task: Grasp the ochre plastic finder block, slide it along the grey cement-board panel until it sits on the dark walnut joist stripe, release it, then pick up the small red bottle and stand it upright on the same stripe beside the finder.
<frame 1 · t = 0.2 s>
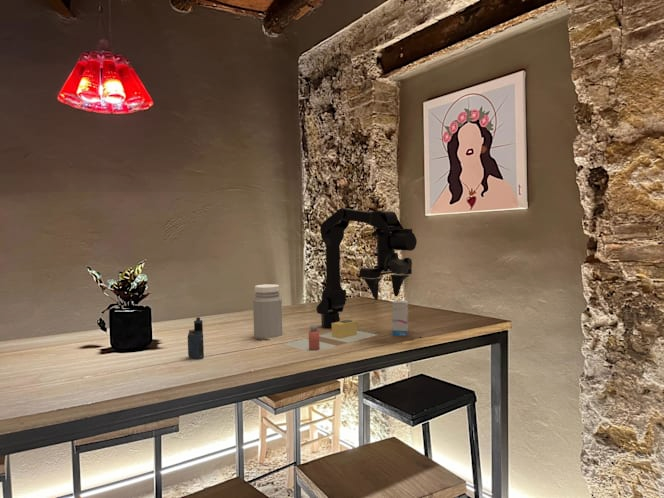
hand: (386, 297, 156), 14 cm above the table, fingers open, 9 cm apart
vaping device: (196, 358, 141), on the table
small red bottle: (314, 349, 144), point 1 cm above the table, touching subfloor panel
subfloor panel: (331, 342, 156), on the table
finder block: (344, 335, 162), point 1 cm above the table, touching subfloor panel
ink box: (400, 336, 164), on the table
jar: (268, 338, 166), on the table
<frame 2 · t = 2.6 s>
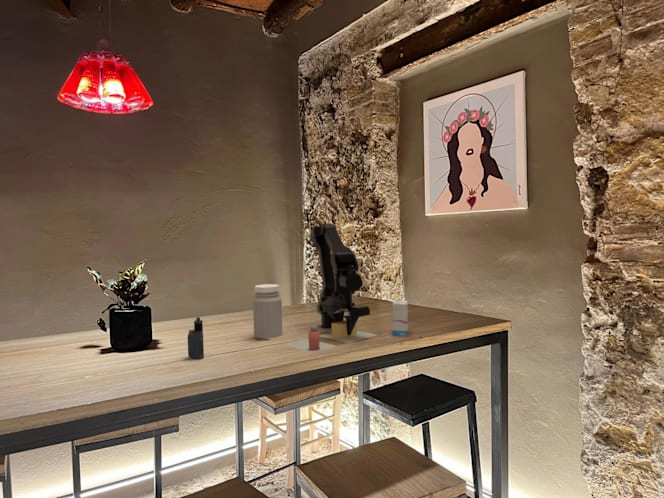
hand: (344, 334, 162), 1 cm above the table, fingers closed on finder block, 4 cm apart
finder block: (344, 335, 162), point 1 cm above the table, touching gripper, subfloor panel
everything else where it was.
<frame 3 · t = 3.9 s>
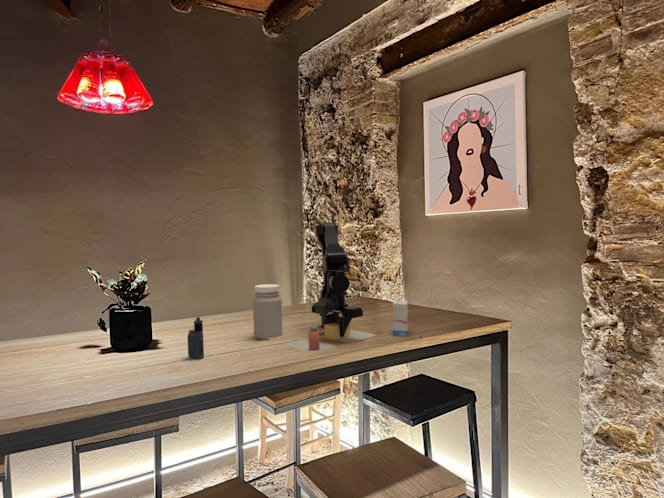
hand: (337, 336, 159), 1 cm above the table, fingers closed on finder block, 4 cm apart
finder block: (337, 337, 159), point 1 cm above the table, touching gripper
everything else where it was.
when the fingers open (1 cm above the table, at t = 5.4 s): finder block stays where it is, resting on subfloor panel.
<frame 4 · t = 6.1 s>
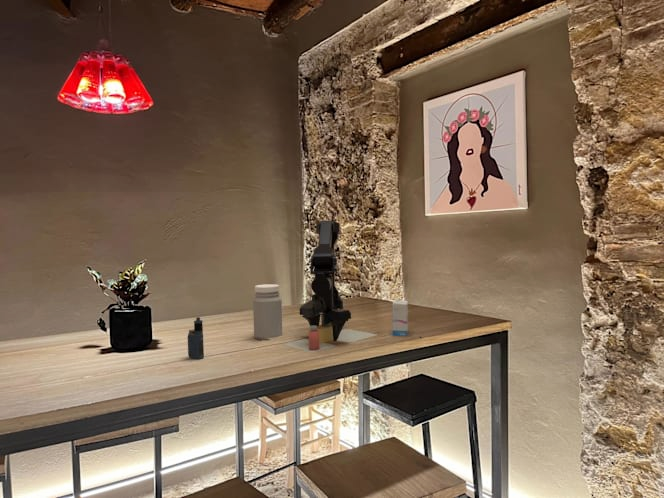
hand: (325, 339, 155), 1 cm above the table, fingers open, 9 cm apart
finder block: (325, 340, 155), point 1 cm above the table, touching subfloor panel
everything else where it was.
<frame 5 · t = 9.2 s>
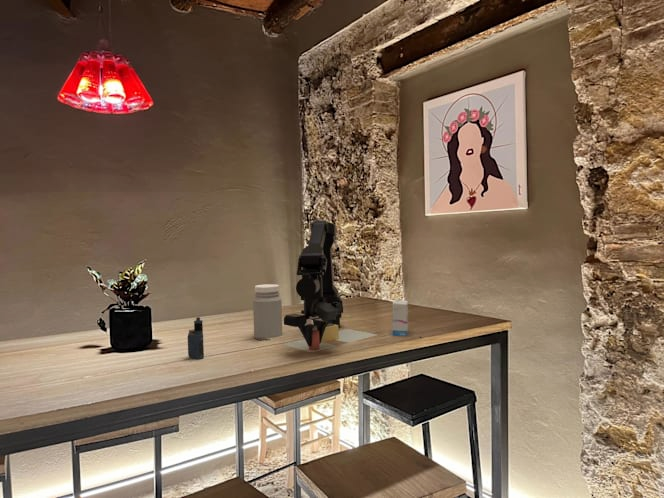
hand: (314, 345, 144), 2 cm above the table, fingers closed on small red bottle, 3 cm apart
small red bottle: (314, 349, 144), point 1 cm above the table, touching gripper, subfloor panel
everything else where it was.
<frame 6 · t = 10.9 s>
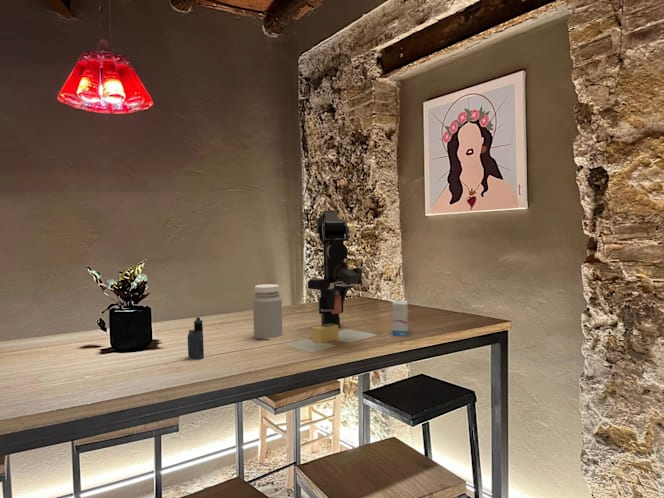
hand: (336, 309, 151), 12 cm above the table, fingers closed on small red bottle, 3 cm apart
small red bottle: (336, 312, 151), point 10 cm above the table, touching gripper
everything else where it was.
when the fingers open (3 cm above the table, at t = 12.6 s): small red bottle drops 1 cm, resting on subfloor panel.
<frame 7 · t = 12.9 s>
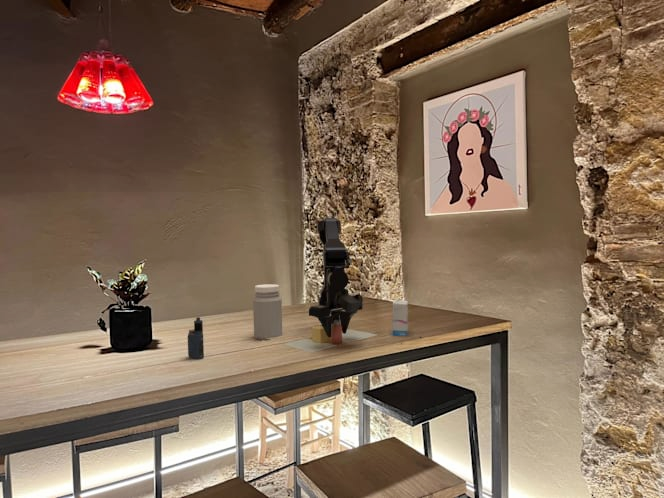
hand: (336, 335, 151), 3 cm above the table, fingers open, 6 cm apart
small red bottle: (337, 343, 151), point 1 cm above the table, touching subfloor panel
everything else where it was.
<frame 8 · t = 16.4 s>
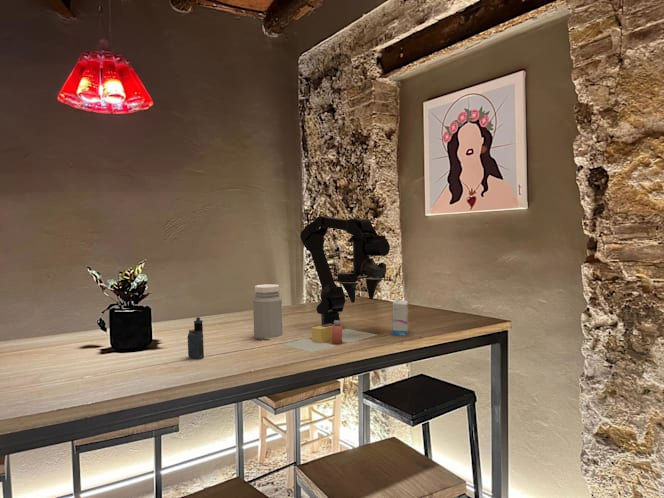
hand: (362, 300, 165), 12 cm above the table, fingers open, 9 cm apart
nothing on the table moved.
at the end: finder block inside the target area (0.2 cm from its centre), point 1.0 cm above the table; small red bottle 0.0 cm from the target spot, point 1.0 cm above the table; small red bottle tilted 1° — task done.
